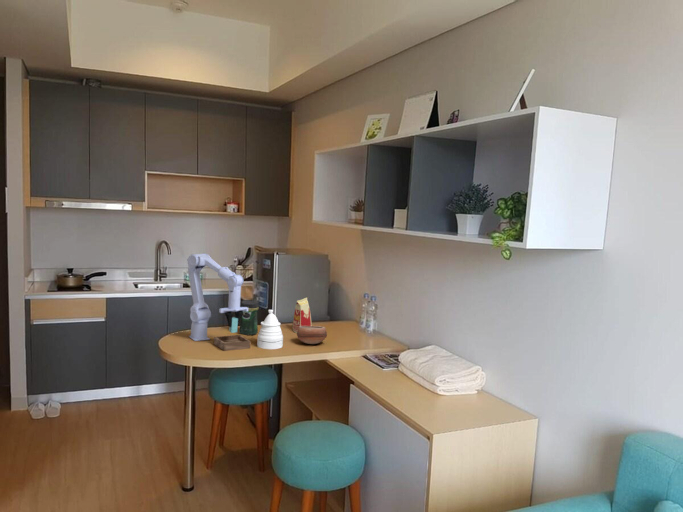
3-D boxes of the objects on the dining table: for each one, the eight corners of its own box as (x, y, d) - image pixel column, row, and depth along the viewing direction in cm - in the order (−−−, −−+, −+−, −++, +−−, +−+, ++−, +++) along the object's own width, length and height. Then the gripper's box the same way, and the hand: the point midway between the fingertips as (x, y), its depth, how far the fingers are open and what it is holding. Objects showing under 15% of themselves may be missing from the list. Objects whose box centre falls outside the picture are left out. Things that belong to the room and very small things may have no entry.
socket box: (213, 343, 264) (214, 337, 264) (239, 341, 272) (239, 334, 271) (223, 350, 253) (224, 343, 253) (250, 348, 260) (250, 341, 260)
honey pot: (254, 343, 271) (256, 308, 269) (278, 342, 276) (280, 308, 274) (260, 349, 259) (262, 313, 257) (285, 348, 264) (287, 313, 262)
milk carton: (304, 329, 308) (306, 295, 306) (312, 333, 300) (314, 298, 298) (290, 330, 303) (292, 296, 301) (297, 334, 295) (299, 299, 293)
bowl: (322, 340, 286) (323, 321, 285) (329, 347, 271) (330, 328, 270) (294, 340, 282) (295, 321, 281) (298, 347, 267) (300, 328, 266)
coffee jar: (259, 333, 292) (261, 300, 291) (253, 336, 285) (255, 302, 283) (243, 331, 295) (245, 298, 293) (237, 334, 287) (238, 300, 286)
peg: (229, 331, 262) (229, 317, 262) (234, 330, 264) (235, 317, 263) (231, 332, 260) (232, 318, 259) (237, 332, 262) (237, 318, 261)
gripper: (223, 301, 253) (222, 329, 255) (251, 300, 262) (250, 326, 263) (218, 298, 259) (217, 326, 260) (245, 297, 267) (244, 323, 268)
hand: (233, 326), depth 262 cm, fingers closed on peg, 3 cm apart
